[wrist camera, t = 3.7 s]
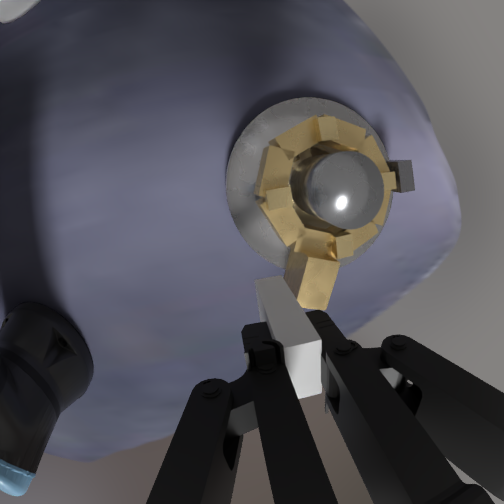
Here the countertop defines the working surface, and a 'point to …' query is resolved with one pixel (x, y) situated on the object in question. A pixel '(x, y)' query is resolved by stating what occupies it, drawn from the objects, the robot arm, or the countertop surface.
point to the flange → (310, 179)
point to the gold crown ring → (306, 236)
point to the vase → (15, 9)
